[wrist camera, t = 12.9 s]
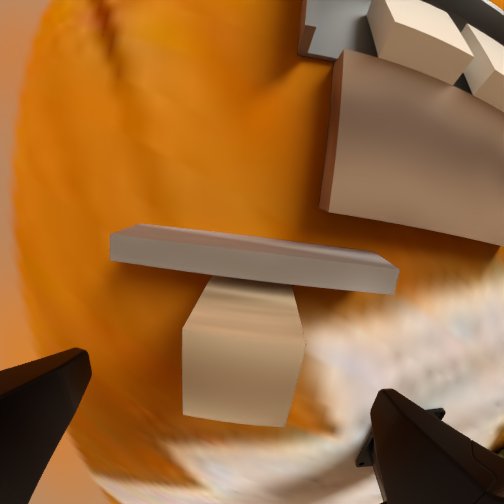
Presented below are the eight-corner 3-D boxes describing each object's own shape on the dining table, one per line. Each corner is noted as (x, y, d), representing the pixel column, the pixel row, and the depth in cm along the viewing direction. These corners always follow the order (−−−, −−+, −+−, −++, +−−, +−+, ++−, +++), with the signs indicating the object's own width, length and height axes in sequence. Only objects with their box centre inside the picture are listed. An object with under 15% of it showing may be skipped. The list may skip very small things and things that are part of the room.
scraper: (350, 346, 17) (387, 425, 10) (139, 321, 17) (84, 387, 10) (373, 251, 15) (439, 297, 9) (139, 223, 16) (64, 251, 9)
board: (501, 243, 15) (523, 251, 12) (318, 207, 15) (328, 212, 13) (511, 134, 13) (533, 131, 11) (333, 65, 13) (343, 48, 11)
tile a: (519, 122, 11) (541, 103, 8) (472, 95, 11) (495, 69, 8) (497, 73, 12) (514, 54, 9) (451, 47, 12) (466, 23, 9)
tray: (526, 139, 13) (557, 137, 9) (297, 54, 13) (305, 24, 10) (516, 52, 11) (541, 42, 8) (304, -36, 11) (310, -69, 8)
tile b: (452, 85, 11) (474, 57, 8) (378, 57, 11) (394, 21, 8) (432, 38, 12) (447, 12, 9) (366, 15, 12) (376, -16, 9)
